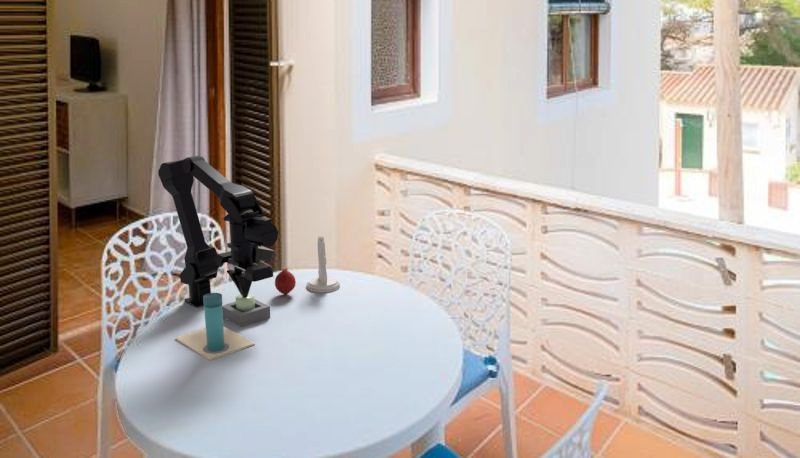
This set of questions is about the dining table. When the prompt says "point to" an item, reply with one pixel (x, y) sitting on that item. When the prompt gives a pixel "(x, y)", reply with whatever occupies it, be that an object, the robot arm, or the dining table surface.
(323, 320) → the dining table surface
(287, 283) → the onion
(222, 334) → the ball
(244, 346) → the sheet
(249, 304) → the button
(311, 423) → the dining table surface
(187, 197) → the robot arm
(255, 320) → the button housing
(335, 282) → the paper towel holder
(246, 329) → the dining table surface
